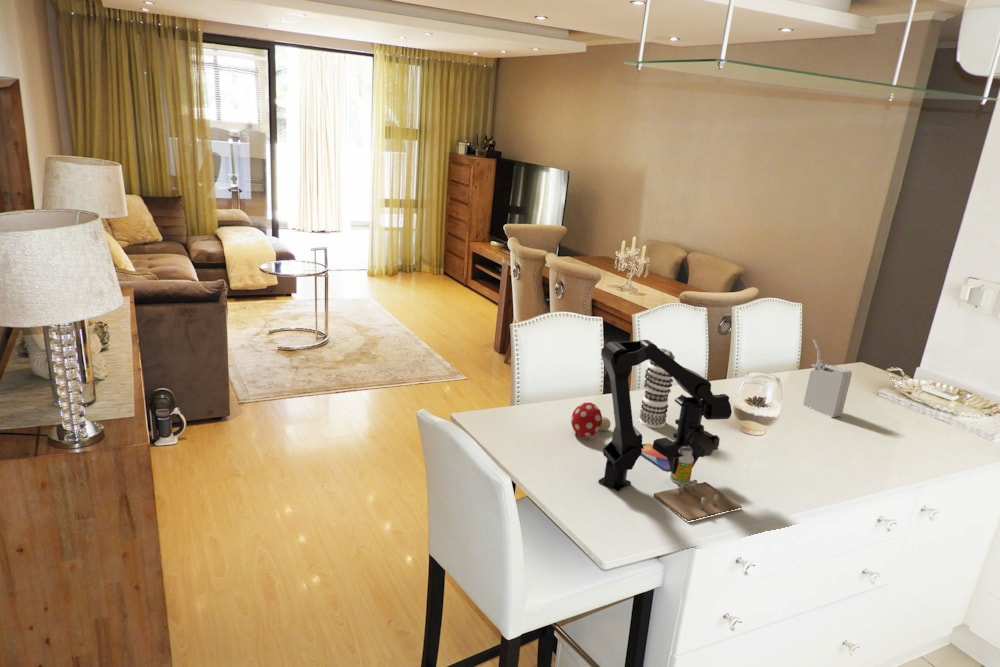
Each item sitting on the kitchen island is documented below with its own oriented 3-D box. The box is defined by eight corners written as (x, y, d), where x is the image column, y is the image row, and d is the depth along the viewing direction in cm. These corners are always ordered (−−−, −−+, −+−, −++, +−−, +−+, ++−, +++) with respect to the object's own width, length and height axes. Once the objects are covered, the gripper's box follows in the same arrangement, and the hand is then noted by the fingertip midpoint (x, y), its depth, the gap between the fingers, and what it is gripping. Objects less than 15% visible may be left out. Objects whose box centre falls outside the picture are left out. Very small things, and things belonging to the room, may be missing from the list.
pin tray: (687, 523, 162) (690, 508, 161) (653, 496, 173) (655, 483, 172) (741, 509, 170) (744, 495, 169) (705, 485, 181) (707, 472, 180)
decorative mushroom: (612, 400, 212) (583, 392, 202) (627, 429, 206) (597, 422, 196) (588, 420, 217) (559, 413, 208) (602, 449, 211) (572, 443, 201)
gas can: (796, 402, 249) (810, 338, 242) (805, 400, 251) (820, 337, 244) (832, 418, 236) (848, 351, 229) (841, 416, 238) (857, 350, 231)
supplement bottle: (676, 485, 180) (681, 452, 177) (666, 475, 185) (671, 443, 182) (693, 484, 181) (699, 451, 178) (683, 474, 186) (688, 442, 183)
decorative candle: (669, 429, 215) (681, 356, 208) (640, 427, 215) (651, 354, 208) (663, 418, 224) (674, 347, 217) (635, 415, 224) (646, 345, 217)
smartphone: (664, 473, 187) (665, 470, 187) (630, 449, 199) (631, 446, 199) (684, 469, 190) (684, 465, 190) (649, 446, 203) (649, 442, 203)
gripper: (684, 436, 167) (674, 491, 171) (738, 427, 175) (727, 479, 180) (655, 419, 176) (647, 471, 180) (707, 410, 185) (698, 461, 189)
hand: (681, 471), depth 182 cm, fingers closed on supplement bottle, 5 cm apart
